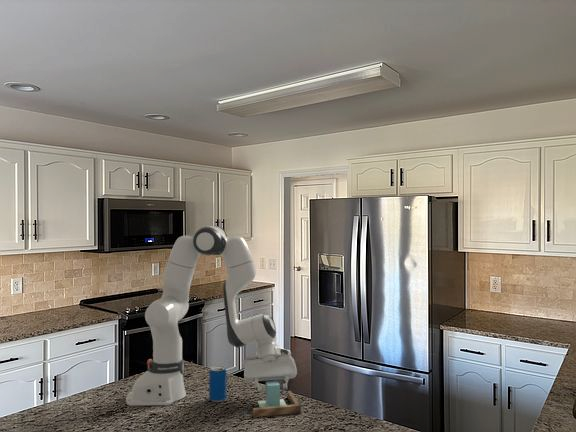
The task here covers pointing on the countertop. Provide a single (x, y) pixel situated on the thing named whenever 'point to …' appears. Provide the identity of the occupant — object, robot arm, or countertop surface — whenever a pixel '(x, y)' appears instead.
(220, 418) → the countertop surface
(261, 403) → the pad
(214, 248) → the robot arm
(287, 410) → the corner walls
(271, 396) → the teal block
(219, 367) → the beverage can
